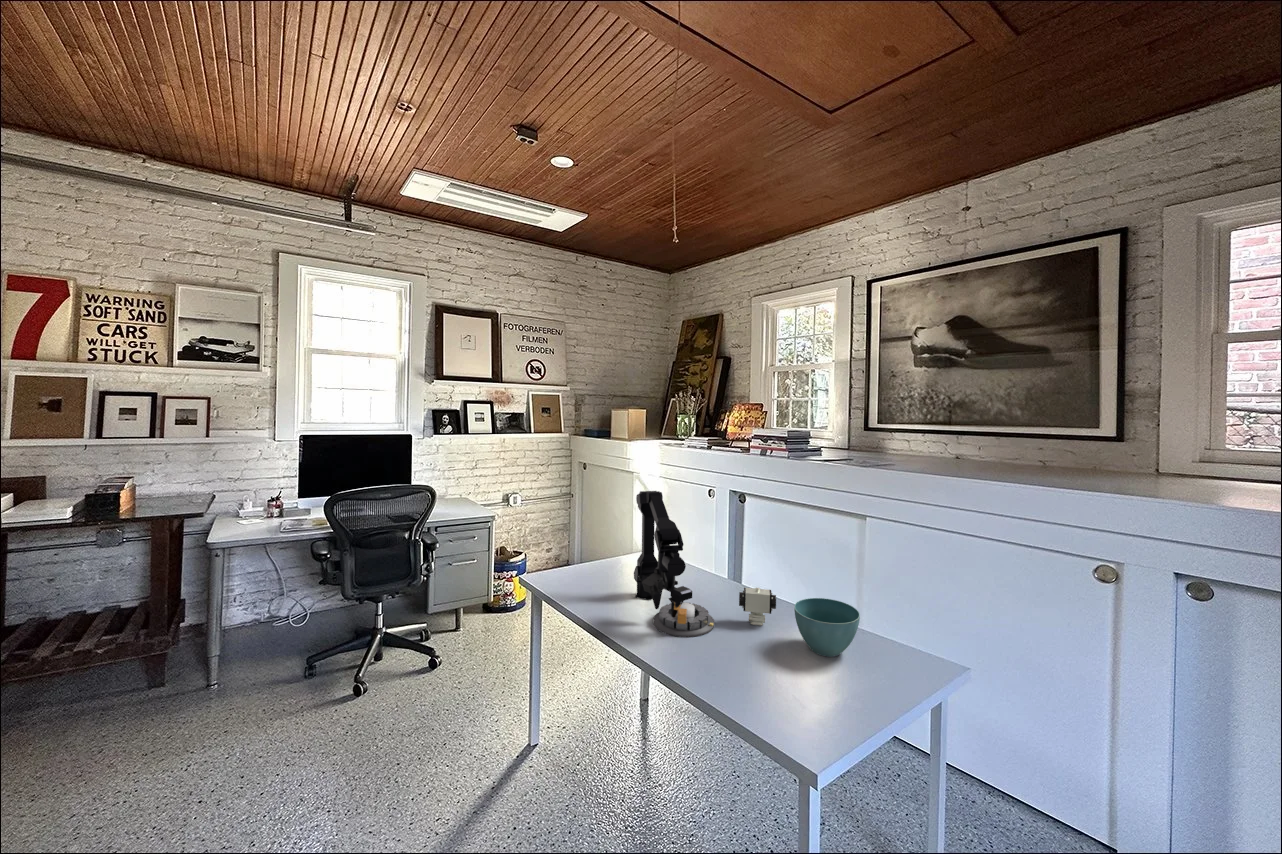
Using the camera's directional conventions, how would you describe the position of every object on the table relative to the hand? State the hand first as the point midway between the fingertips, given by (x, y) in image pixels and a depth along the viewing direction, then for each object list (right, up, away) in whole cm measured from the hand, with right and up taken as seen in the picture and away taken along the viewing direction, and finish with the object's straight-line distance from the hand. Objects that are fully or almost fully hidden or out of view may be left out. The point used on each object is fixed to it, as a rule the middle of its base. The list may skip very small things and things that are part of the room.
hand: (665, 612), depth 170 cm
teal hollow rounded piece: (+47, -6, -13) cm, 49 cm away
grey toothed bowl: (+6, -3, +3) cm, 8 cm away
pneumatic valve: (+30, -5, +4) cm, 31 cm away
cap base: (+6, -5, +4) cm, 9 cm away
